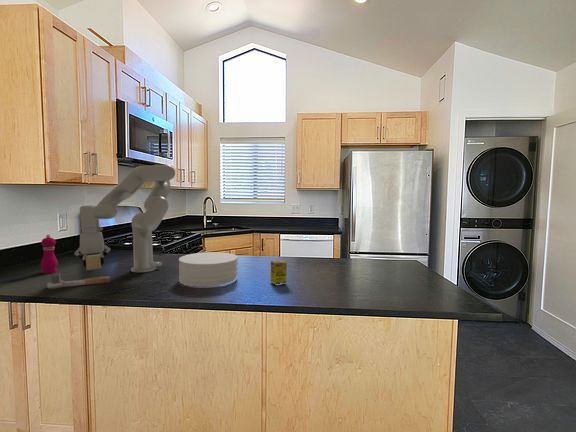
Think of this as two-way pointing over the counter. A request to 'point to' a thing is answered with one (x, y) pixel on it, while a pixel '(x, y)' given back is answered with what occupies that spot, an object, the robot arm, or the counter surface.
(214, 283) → the plate stack
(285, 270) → the supplement box
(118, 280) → the counter surface
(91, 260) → the mustard yellow cube
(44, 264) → the pepper mill
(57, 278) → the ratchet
